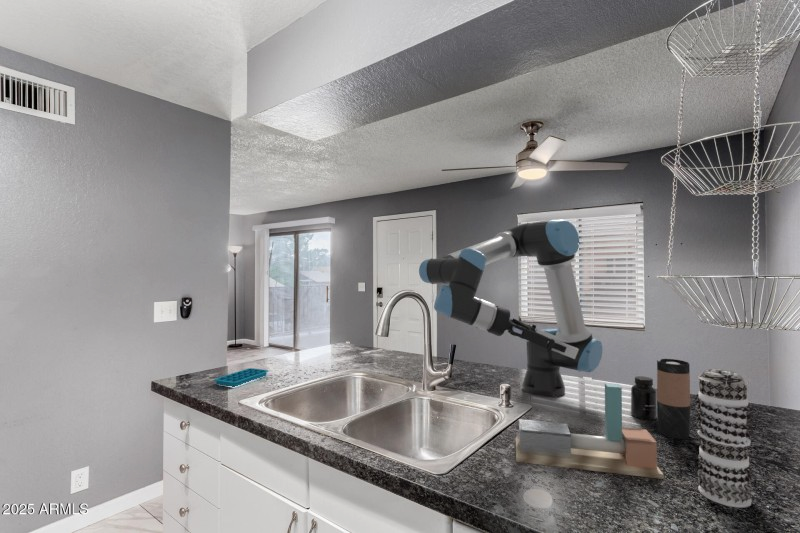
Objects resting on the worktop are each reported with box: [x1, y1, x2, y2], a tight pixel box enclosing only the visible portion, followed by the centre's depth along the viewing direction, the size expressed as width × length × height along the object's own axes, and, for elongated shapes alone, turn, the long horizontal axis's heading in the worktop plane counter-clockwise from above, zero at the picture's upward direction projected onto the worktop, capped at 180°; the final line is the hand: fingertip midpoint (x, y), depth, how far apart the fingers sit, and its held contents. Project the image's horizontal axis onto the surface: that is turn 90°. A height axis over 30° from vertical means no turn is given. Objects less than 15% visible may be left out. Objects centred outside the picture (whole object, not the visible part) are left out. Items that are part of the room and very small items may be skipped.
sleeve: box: [518, 418, 571, 459], centre depth 100 cm, size 12×7×6 cm, turn 74°
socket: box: [621, 427, 658, 469], centre depth 94 cm, size 6×7×6 cm
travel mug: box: [656, 358, 691, 440], centre depth 111 cm, size 8×8×20 cm
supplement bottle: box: [630, 375, 658, 421], centre depth 124 cm, size 7×7×12 cm
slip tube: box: [570, 382, 626, 454], centre depth 96 cm, size 16×4×16 cm, turn 74°
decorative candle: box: [694, 368, 754, 509], centre depth 81 cm, size 9×9×25 cm
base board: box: [515, 436, 664, 480], centre depth 97 cm, size 31×12×1 cm, turn 74°
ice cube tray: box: [213, 367, 270, 387], centre depth 167 cm, size 12×20×3 cm, turn 156°
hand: (566, 347), depth 106 cm, fingers open, 13 cm apart
